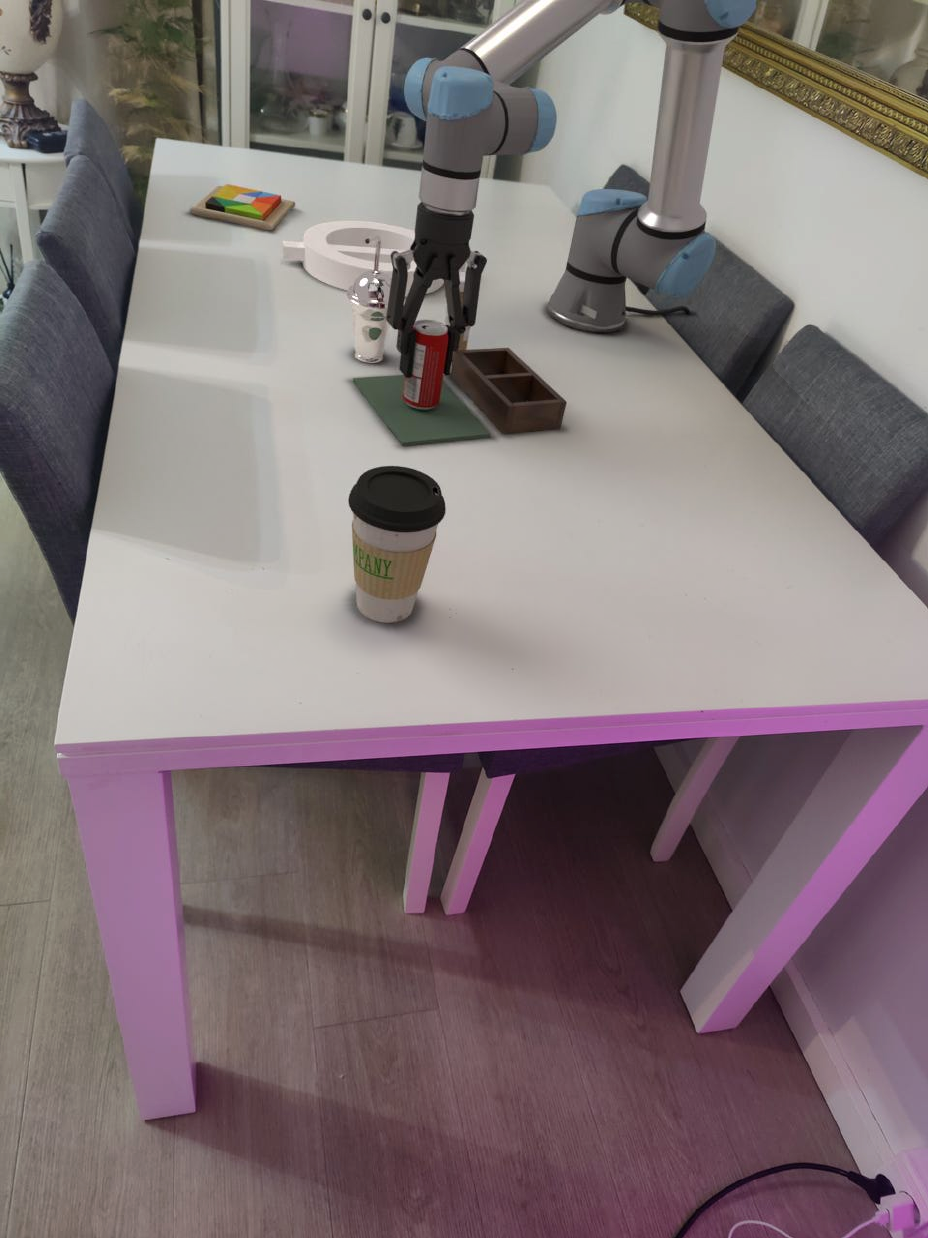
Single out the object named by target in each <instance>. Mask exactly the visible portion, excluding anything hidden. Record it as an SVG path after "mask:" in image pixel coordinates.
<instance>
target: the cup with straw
mask: <svg viewBox="0 0 928 1238" xmlns="http://www.w3.org/2000/svg"><path fill="white" fill-rule="evenodd" d="M365 242H366V244H369V243H373V242H376V252H375V263H374V270H369V271H366V272H364V273H362V274H360V275H359V276H358V277H357V279H356V280H355V282H354V284H353V285H352V286H350V287H349V289H348V291H347V293H346V297H347V299H348V300H349V301H351V308H352V316H353V341H354V351H355V353H354V357H355V358H356V359H357V360H358V361H360V362H363V363H369V364H376V363H379V362H381V361H383V359H384V357H383V355H384V353H385V350H386V345H387V341H388V337H389V331H390V327H391V325H390V324H389V323H388V322H387V321H386V316H387V309H388V301H389V294H390V287H391V277H389V276H388V275H387V274H386V273H384V272H382V271H379V270H378V269H379V258H380V247H381V239H380V237H379V236H375V237H372V238H368V239H366V240H365Z"/></svg>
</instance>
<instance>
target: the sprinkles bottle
mask: <svg viewBox="0 0 928 1238" xmlns="http://www.w3.org/2000/svg"><path fill="white" fill-rule="evenodd" d="M465 275H466V271H464V272H459V276H460V285H459V289H460V298H461V307H462V300H463V292H464V283H465ZM443 324H444V325H449V326H450V323H449V318H448V310H447V306H446V308H445V315H444V323H443ZM465 328H466V330H465V332H464V333H463V334H461V336H460V342H459V348H458V350H468V342H469V338H470V330H471V327H470V326H467V327H465ZM453 355H454V351H453ZM452 361H453V356H452Z"/></svg>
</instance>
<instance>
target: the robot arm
mask: <svg viewBox="0 0 928 1238" xmlns="http://www.w3.org/2000/svg"><path fill="white" fill-rule="evenodd" d="M757 1H758V0H520V2H518V3H517V4H515V5H514V6H513V7H512V8H510V9H509V10H508V11H506V12H505V13H504V14H503V15H501V16H500V17H499V18H497V19H496V20H494V21H493V22H492V23H491V24H489V25H488V26H487V27H485V28H484V29H483V30H482V31H480V32H479V33H478V34H476V35H475V36H474V37H472V38H471V39H470V40H469V41H467V42H466V43H465V44H463V45H462V46H461V47H459V48H458V49H457V50H456V51H454V52H453V53H451V54H450V55H449V56H448V57H447V58H445V59H443V60H440V59H439V58H437V57H433V58H431V57H422V58H420V59H417V60H416V61H415V62H414V63H413V64H412V65H411V66H410V68H409V70H408V71H407V74H406V76H405V81H404V87H403V94H404V100H405V103H406V106H407V108H408V110H409V111H410V112H411V114H413V115H414V116H415V117H417V118H419V119H421V120H423V121H424V122H426V123H425V124H426V125H425V136H424V146H423V156H422V157H423V158H422V165H421V172H420V181H419V191H418V199H419V200H420V202H419V203H418V204H417V206H416V207H417V208H416V216H415V223H414V224H415V225H414V231H415V239H414V241H413V243H412V245H411V247H410V250H407V251H404V252H401V253H398V252H397V251H393V252H392V253H391V261H392V266H393V272H392V279H391V287H390V294H389V301H388V309H387V316H386V321H387V322H388V323H389V324H390V327H391V328H392V329H393V330H394V331H395V330H396V331H397V339H396V346H395V347H396V350H397V351H398V352H399V354H400V358H399V368H398V369H399V371H400V372H401V374H402V375H404V376H405V377H406V378H411V374H412V366H413V358H414V350H415V342H416V333H415V332H414V331H413V330H412V329H413V326H414V323H415V321H417V318H418V316H419V313H420V310H421V307H422V305H423V303H424V301H425V300H424V299H425V298H426V295H427V294H426V292H427V290H428V288H430V287H431V285H432V282H433V280H437V279H443V280H444V283H443V285H444V294H445V301H446V307H447V310H448V318H449V323H450V326H449V325H445V326H447V328H448V330H447V331H448V346H447V353H446V360H445V367H444V374H443V376H450V374H451V368H452V361H453V360H452V356H453V351H457V350H458V348H459V342H460V336H461V334H463V333H464V332H465V330H466V328H465V327H467V326H470V328H472V327H474V326H475V325H476V322H477V321H476V319H477V314H478V313H477V312H478V304H479V296H480V287H481V282H482V281H481V280H482V275H483V273H484V270H485V268H486V265H487V263H488V259H487V257H485V256H484V255H483V254H482V253H481V252H480V251H478V250H474V251H473V250H471V247H470V241H471V239H472V233H473V226H474V220H475V214H474V212H473V210H474V209H475V208H476V206H477V200H478V192H479V187H480V179H481V174H482V166H483V162H484V157H487V156H503V155H519V156H520V155H521V156H524V155H527V154H531V153H536V152H539V151H542V150H543V149H545V148H546V147H547V146H548V145H549V144H550V143H551V141H552V139H553V137H554V135H555V132H556V128H557V121H558V117H557V116H558V115H557V109H556V106H555V103H554V101H553V99H552V98H551V96H550V95H549V94H548V93H547V92H546V91H544V90H543V89H539V88H531V86H524V87H515V86H511V84H512V83H514V82H515V81H516V80H518V79H519V78H520V77H521V76H523V75H524V74H525V73H526V72H527V71H529V70H530V69H532V67H535V65H536V64H538V63H539V62H540V61H541V60H543V59H544V58H545V57H547V56H548V55H549V54H550V53H552V52H553V51H554V50H555V49H557V48H558V47H559V46H561V45H562V44H563V43H565V41H567V40H568V39H569V38H571V37H572V36H573V35H575V33H577V32H579V30H581V29H583V27H584V26H586V25H587V24H588V23H590V22H591V21H592V20H593V19H595V18H596V17H597V16H598V15H605V16H606V15H611V14H613V13H615V12H616V11H617V10H618V9H620V8H621V7H622V6H625V5H628V4H643V5H646V6H650V7H653V8H656V9H659V10H658V12H659V14H658V22H657V33H658V35H659V36H660V38H661V39H662V40H663V42H664V43H665V51H664V52H665V53H664V62H663V70H662V79H661V86H660V94H659V95H660V96H659V102H658V112H657V120H656V128H655V137H654V147H653V156H652V163H651V170H650V171H651V172H650V180H649V189H648V197H647V195H645V194H643V193H640V192H635V191H631V190H624V189H616V188H615V189H614V188H597V189H596V188H595V189H591V190H588V191H586V192H585V193H584V194H583V195H582V198H581V200H580V204H579V207H578V211H577V212H576V215H575V216H576V218H575V223H574V227H573V233H572V237H571V241H570V247H569V252H568V257H567V260H566V265H565V270H564V272H563V274H562V276H561V278H560V280H559V281H558V283H557V285H556V287H555V289H554V291H553V293H552V294H551V295H550V297H549V300H548V303H547V310H546V311H547V313H548V315H549V316H550V317H551V318H552V319H554V320H555V321H556V322H558V323H560V324H562V325H564V326H567V327H569V328H572V329H576V330H579V331H584V332H588V333H598V334H609V333H615V332H618V331H620V330H622V329H623V328H624V326H625V323H626V319H627V312H628V313H636V314H640V315H641V314H642V315H648V316H663V315H667V314H672V313H673V314H674V313H676V312H679V311H683V312H684V313H685V314H686V315H688V316H689V315H692V312H691V310H690V309H689V308H688V307H687V306H684V305H679V306H675V307H671V308H665V309H661V310H653V309H643V308H638V307H633V306H627V300H626V299H627V297H626V282H627V279H629V280H631V281H633V282H635V283H637V284H640V285H642V286H644V287H646V288H649V289H651V290H654V291H655V293H656V294H658V295H659V294H660V295H664V296H666V297H669V298H673V299H680V298H682V297H684V296H686V295H688V294H689V293H691V292H692V291H694V289H695V288H696V287H697V286H699V284H700V282H702V280H703V278H704V277H705V276H706V274H707V272H708V270H709V269H710V267H711V265H712V262H713V260H714V257H715V255H716V249H717V241H716V239H715V237H714V236H713V235H712V233H709V232H708V231H705V230H706V224H707V218H708V214H707V211H706V209H705V208H704V207H703V206H702V204H701V198H702V191H703V187H704V186H703V185H704V179H705V175H706V167H707V160H708V155H709V148H710V142H711V136H712V129H713V123H714V118H715V112H716V105H717V99H718V94H719V93H718V92H719V87H720V82H721V74H722V68H723V63H724V56H725V50H726V46H727V45H728V44H729V43H730V42H731V41H732V40H734V38H736V37H737V35H738V34H739V29H740V27H741V26H742V25H744V24H745V23H746V22H747V21H748V20H749V19H750V18H751V16H752V15H753V13H755V11H756V9H757ZM412 260H414V262H415V263H416V265H417V267H416V269H415V272H414V275H413V278H414V280H413V282H412V285H411V288H410V290H409V293H408V296H407V297H405V293H406V286H407V279H408V270H407V269H410V264H411V261H412ZM465 262H466V267H465V272H466V275H465V283H464V292H463V300H462V307H461V298H460V289H459V285H460V276H459V270H460V268H461V267H462V266H463V265H464V263H465Z"/></svg>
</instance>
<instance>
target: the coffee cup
mask: <svg viewBox="0 0 928 1238" xmlns="http://www.w3.org/2000/svg"><path fill="white" fill-rule="evenodd" d="M347 499H348V500H347V501H348V507H349V509H350V510H351V512H352V520H351V538H352V557H353V558H352V559H353V561H352V562H353V577H354V582H355V593H356V595H355V596H356V597H355V599H356V607H357V609H358V611H359V612H360V613H361V614H362V615H363V616H364V617H366V618H367V619H369V620H371V621H375V622H378V623H386V624H392V623H399V622H401V621H404V620H405V619H407V618H408V617H409V616H410V615H411V614H412V612H413V610H414V606H415V603H416V600H417V596H418V594H419V593H418V592H419V590H420V589H421V587H422V585H423V584H422V583H423V581H424V577H425V574H426V571H427V568H428V564H429V561H430V557H431V555H432V551H433V549H434V545H435V542H436V539H437V529H438V525H439V524H440V523H441V522H442V521H443V520H444V517H445V516H446V511H447V510H446V509H447V508H446V501H445V498H444V496H443V492H442V488H441V486H440V485H439V483H438V482H437V481H436V480H435V479H434V478H433V477H431V476H430V475H428V474H427V473H425V472H423V471H420V470H418V469H416V468H415V469H414V468H411V467H406V466H399V465H382V466H378V467H377V466H376V467H373V468H371V469H368V470H366V471H363V473H362V474H361V475H360V476H359V477H358V479H357V481H356V483H355V484H354V485H353V487H352V488H351V489H350V492H349V495H348V498H347Z"/></svg>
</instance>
